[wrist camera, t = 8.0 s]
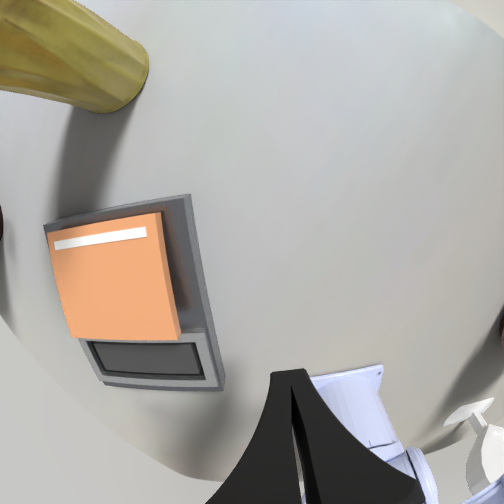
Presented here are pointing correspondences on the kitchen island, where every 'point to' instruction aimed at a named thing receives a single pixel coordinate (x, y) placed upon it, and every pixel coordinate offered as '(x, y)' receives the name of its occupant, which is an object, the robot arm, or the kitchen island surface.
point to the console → (184, 290)
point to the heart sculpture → (481, 446)
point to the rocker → (115, 279)
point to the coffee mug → (1, 223)
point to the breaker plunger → (150, 357)
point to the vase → (68, 55)
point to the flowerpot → (502, 332)
